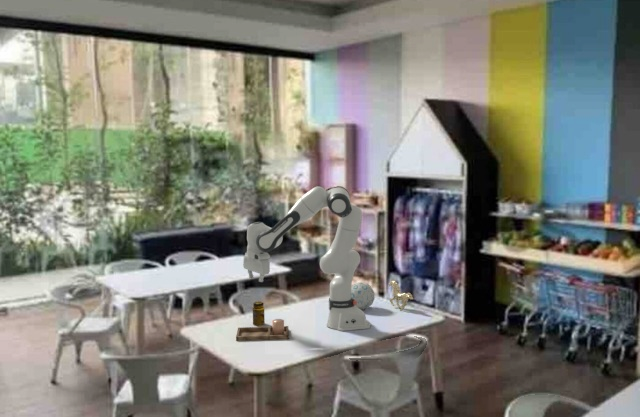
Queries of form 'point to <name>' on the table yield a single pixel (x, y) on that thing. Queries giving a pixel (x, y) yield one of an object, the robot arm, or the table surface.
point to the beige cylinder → (278, 327)
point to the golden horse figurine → (399, 295)
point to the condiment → (258, 314)
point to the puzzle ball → (362, 295)
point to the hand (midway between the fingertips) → (256, 280)
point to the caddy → (260, 333)
